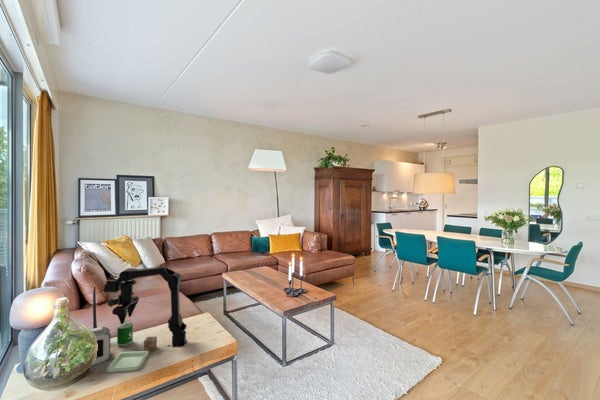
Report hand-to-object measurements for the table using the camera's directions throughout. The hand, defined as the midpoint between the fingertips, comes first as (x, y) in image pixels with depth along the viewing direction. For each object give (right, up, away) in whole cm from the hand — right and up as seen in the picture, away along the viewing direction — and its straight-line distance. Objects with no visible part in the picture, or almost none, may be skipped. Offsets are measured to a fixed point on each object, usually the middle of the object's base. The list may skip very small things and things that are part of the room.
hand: (126, 320), depth 157 cm
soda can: (-2, -15, +3) cm, 15 cm away
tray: (+10, -15, -15) cm, 24 cm away
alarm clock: (-10, -15, -13) cm, 22 cm away
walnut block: (+15, -15, -3) cm, 21 cm away
